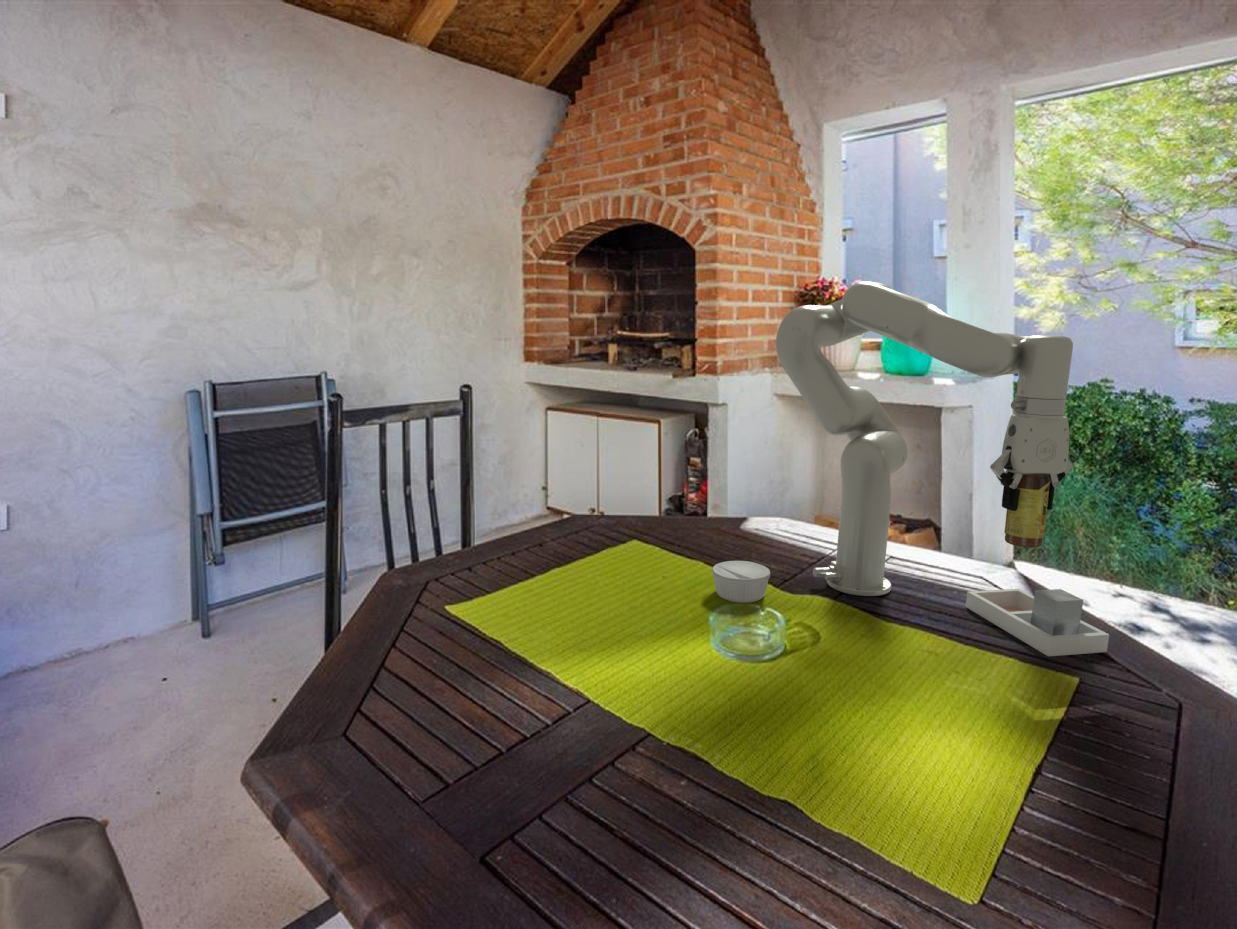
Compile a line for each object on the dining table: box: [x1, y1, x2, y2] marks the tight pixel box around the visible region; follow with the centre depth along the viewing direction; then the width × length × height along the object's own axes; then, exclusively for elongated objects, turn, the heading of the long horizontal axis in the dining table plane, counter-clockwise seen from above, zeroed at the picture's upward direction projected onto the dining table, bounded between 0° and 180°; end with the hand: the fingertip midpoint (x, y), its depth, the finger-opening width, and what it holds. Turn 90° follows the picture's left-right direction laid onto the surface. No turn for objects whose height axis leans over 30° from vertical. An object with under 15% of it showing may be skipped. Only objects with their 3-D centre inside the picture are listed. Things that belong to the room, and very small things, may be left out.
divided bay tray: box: [965, 588, 1110, 657], centre depth 131 cm, size 21×11×4 cm, turn 11°
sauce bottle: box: [1004, 474, 1050, 549], centre depth 131 cm, size 7×6×20 cm
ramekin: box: [711, 560, 771, 604], centre depth 147 cm, size 11×11×5 cm
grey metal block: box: [1030, 588, 1084, 636], centre depth 126 cm, size 5×5×8 cm
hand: (1026, 507), depth 132 cm, fingers closed on sauce bottle, 6 cm apart
